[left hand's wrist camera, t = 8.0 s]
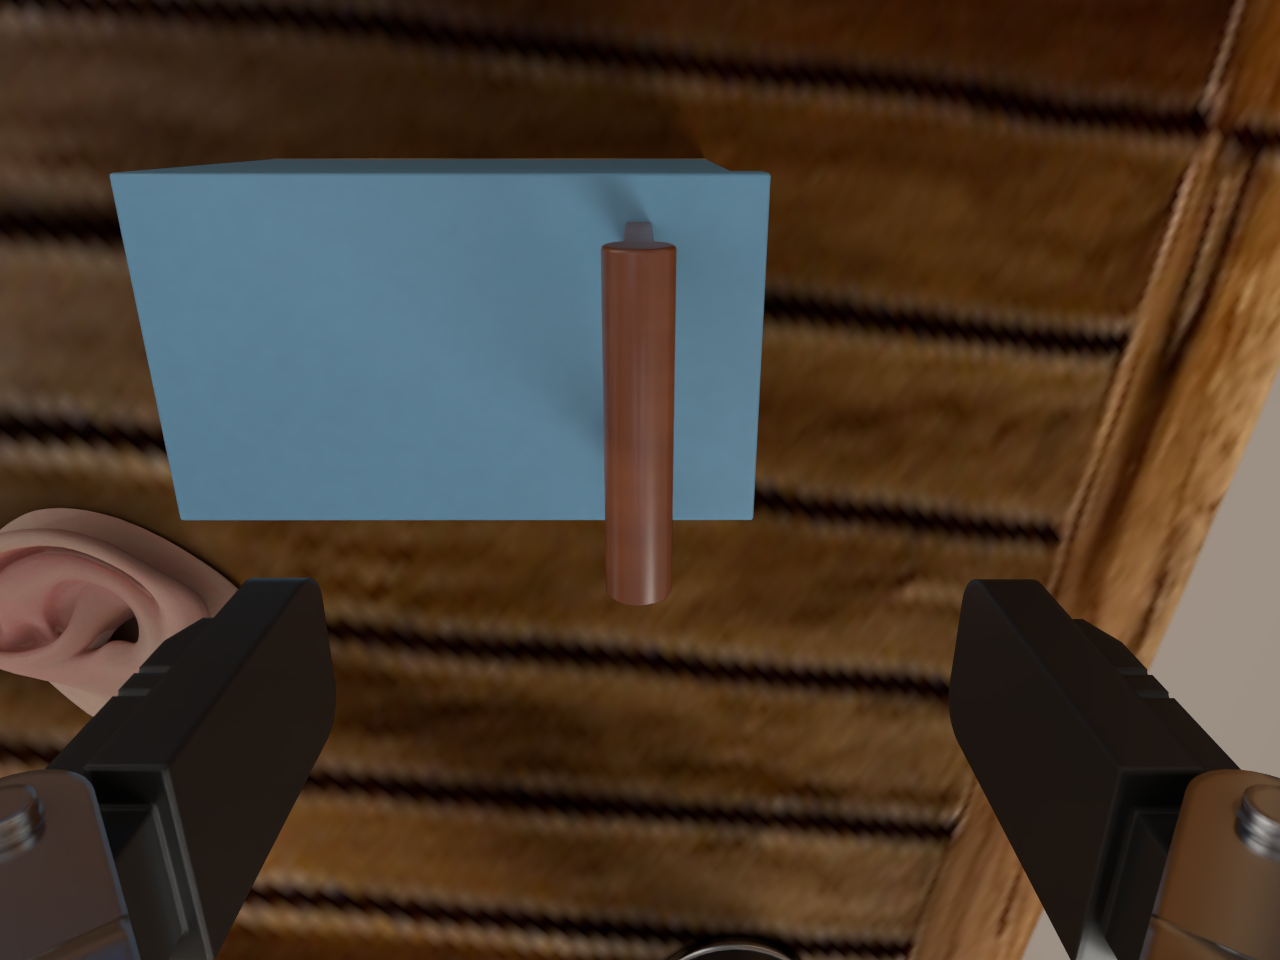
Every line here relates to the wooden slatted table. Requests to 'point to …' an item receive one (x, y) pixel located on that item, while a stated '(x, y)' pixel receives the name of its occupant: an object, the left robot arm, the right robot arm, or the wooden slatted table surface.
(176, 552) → the anatomical model
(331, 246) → the lid
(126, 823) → the left robot arm
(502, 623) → the wooden slatted table surface
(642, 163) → the chest
